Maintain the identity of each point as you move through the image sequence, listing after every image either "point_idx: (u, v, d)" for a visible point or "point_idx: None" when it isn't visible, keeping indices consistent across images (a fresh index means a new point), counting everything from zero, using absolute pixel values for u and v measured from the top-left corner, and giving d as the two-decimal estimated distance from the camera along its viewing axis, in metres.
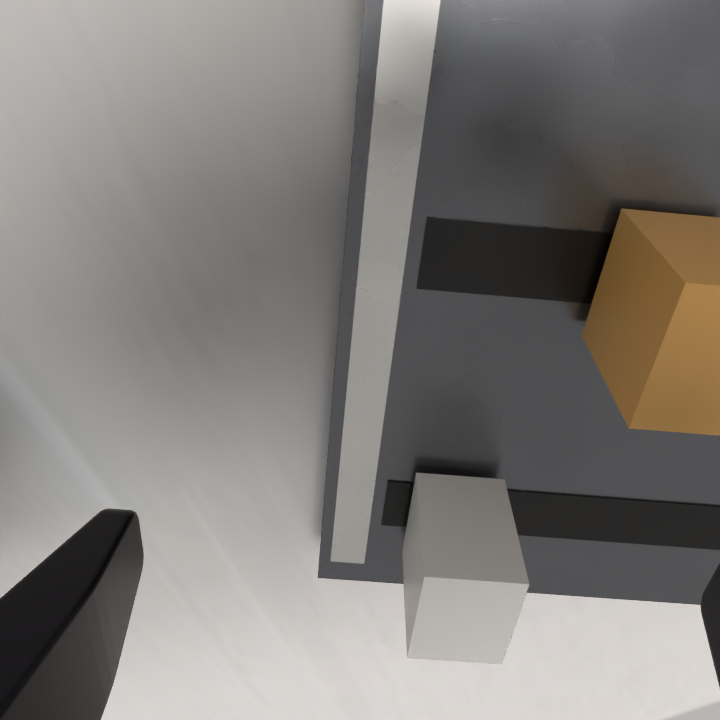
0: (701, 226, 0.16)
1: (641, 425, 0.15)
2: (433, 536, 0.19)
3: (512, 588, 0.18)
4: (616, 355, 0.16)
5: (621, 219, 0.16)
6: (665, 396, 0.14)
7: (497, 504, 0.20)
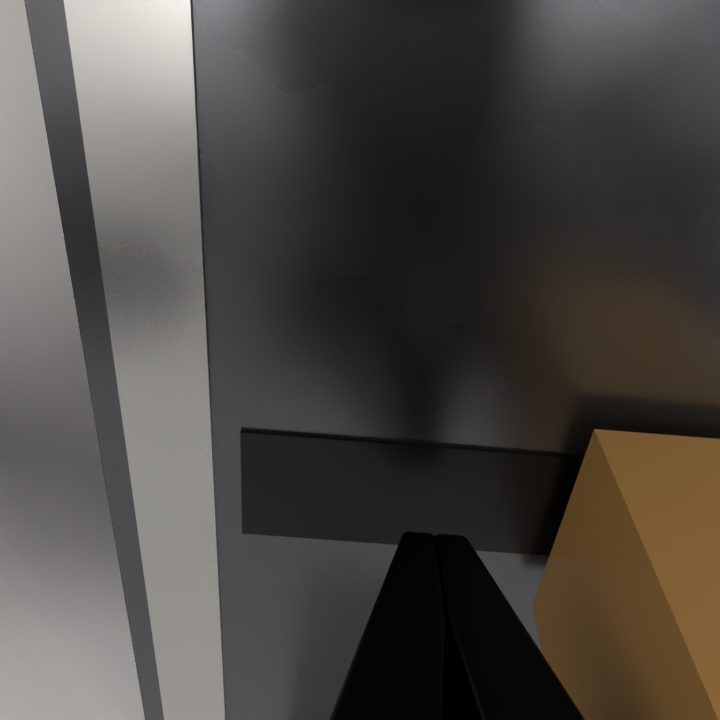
0: None
1: None
2: None
3: None
4: None
5: (594, 451, 0.09)
6: None
7: None
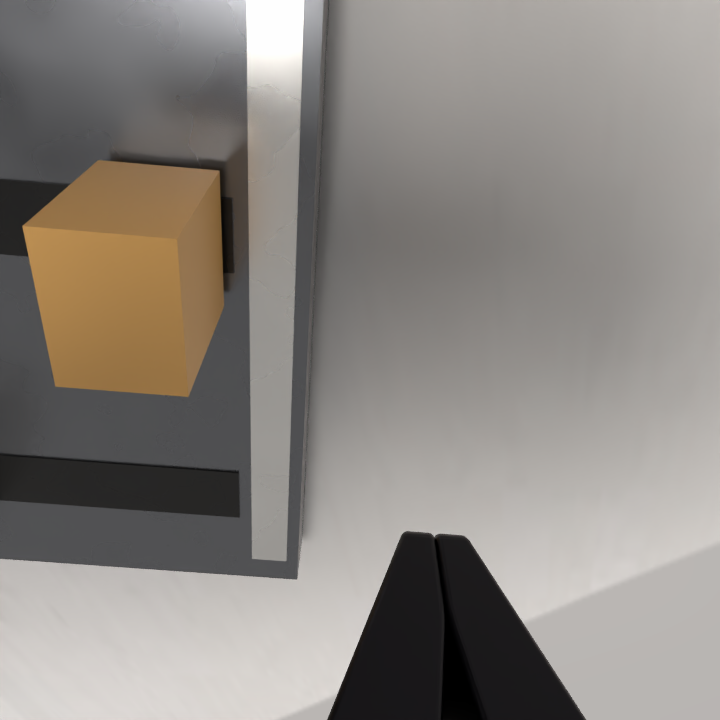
0: (161, 176, 0.15)
1: (66, 383, 0.14)
2: None
3: None
4: None
5: None
6: (72, 351, 0.14)
7: None
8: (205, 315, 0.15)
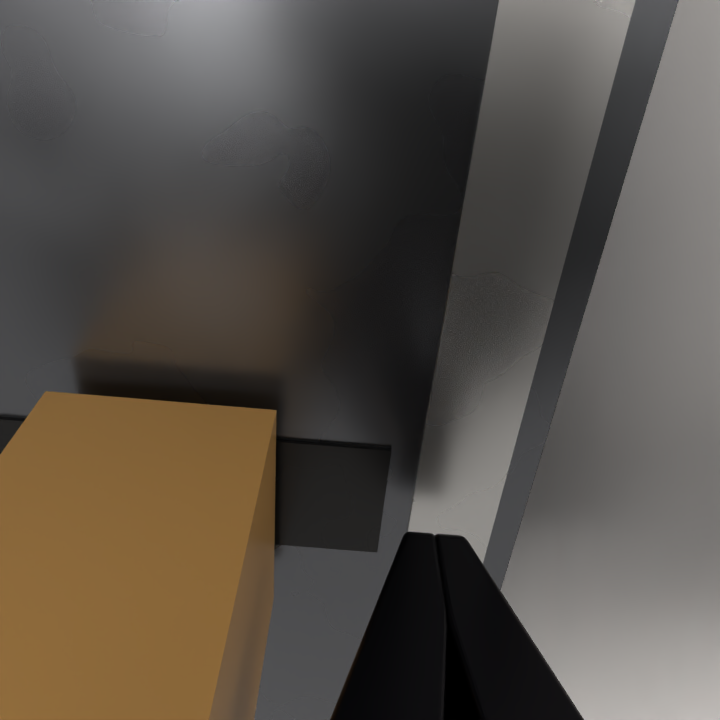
0: (166, 443, 0.08)
1: None
2: None
3: None
4: None
5: None
6: None
7: None
8: (249, 699, 0.08)
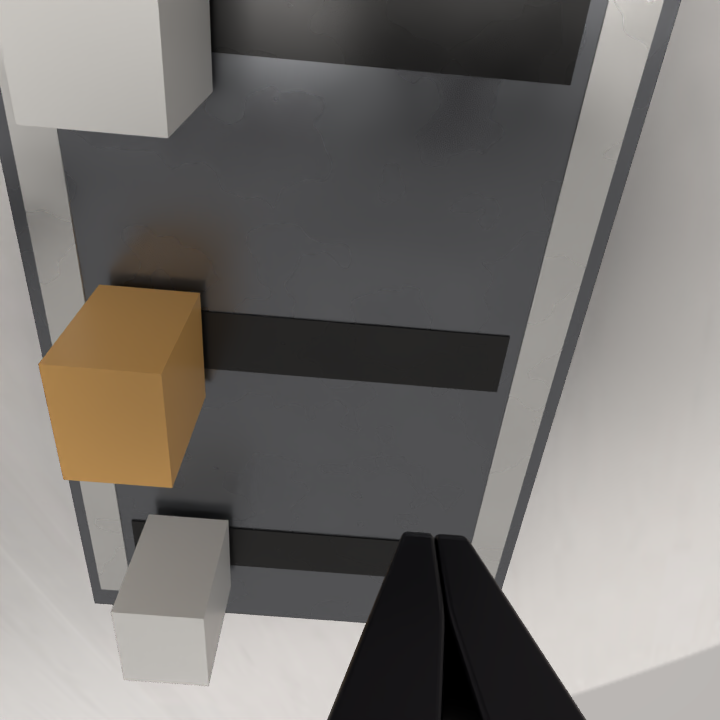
0: (151, 302, 0.18)
1: (72, 477, 0.17)
2: (136, 574, 0.22)
3: (190, 622, 0.21)
4: None
5: None
6: (78, 454, 0.17)
7: (210, 544, 0.23)
8: (187, 415, 0.19)
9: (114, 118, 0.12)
